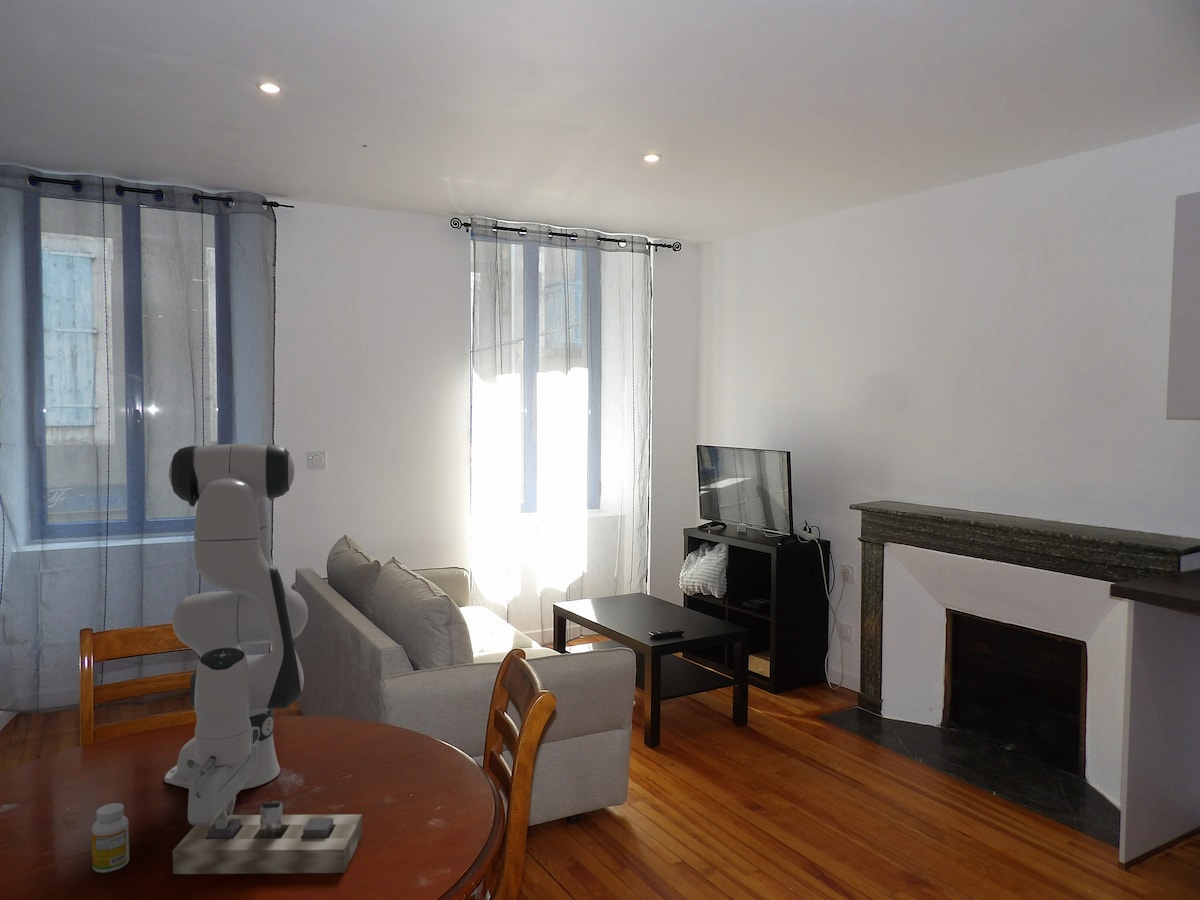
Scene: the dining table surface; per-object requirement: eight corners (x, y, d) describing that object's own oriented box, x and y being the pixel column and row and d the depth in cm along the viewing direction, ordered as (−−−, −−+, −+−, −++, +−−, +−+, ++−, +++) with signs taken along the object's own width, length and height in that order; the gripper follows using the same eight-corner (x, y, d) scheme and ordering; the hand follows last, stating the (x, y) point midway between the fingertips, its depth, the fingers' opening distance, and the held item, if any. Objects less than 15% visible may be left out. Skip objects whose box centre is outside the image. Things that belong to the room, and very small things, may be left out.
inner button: (208, 859, 143) (207, 830, 143) (217, 846, 147) (217, 818, 147) (231, 858, 144) (231, 830, 143) (241, 846, 148) (240, 818, 147)
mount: (173, 874, 139) (172, 850, 139) (204, 836, 151) (204, 815, 151) (344, 872, 140) (344, 849, 140) (362, 836, 152) (362, 814, 152)
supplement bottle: (102, 856, 144) (101, 801, 144) (135, 855, 145) (134, 800, 144) (86, 874, 139) (84, 816, 138) (120, 873, 139) (119, 815, 139)
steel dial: (257, 839, 144) (256, 807, 143) (264, 829, 147) (264, 798, 147) (278, 839, 144) (278, 807, 144) (285, 829, 147) (285, 797, 147)
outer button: (303, 858, 144) (303, 829, 144) (310, 845, 148) (310, 818, 148) (326, 858, 144) (326, 829, 144) (333, 845, 148) (333, 818, 148)
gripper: (216, 771, 134) (217, 856, 135) (263, 724, 154) (264, 798, 155) (176, 772, 134) (177, 857, 134) (228, 724, 154) (229, 798, 155)
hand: (224, 825), depth 145 cm, fingers closed, pressing on inner button
